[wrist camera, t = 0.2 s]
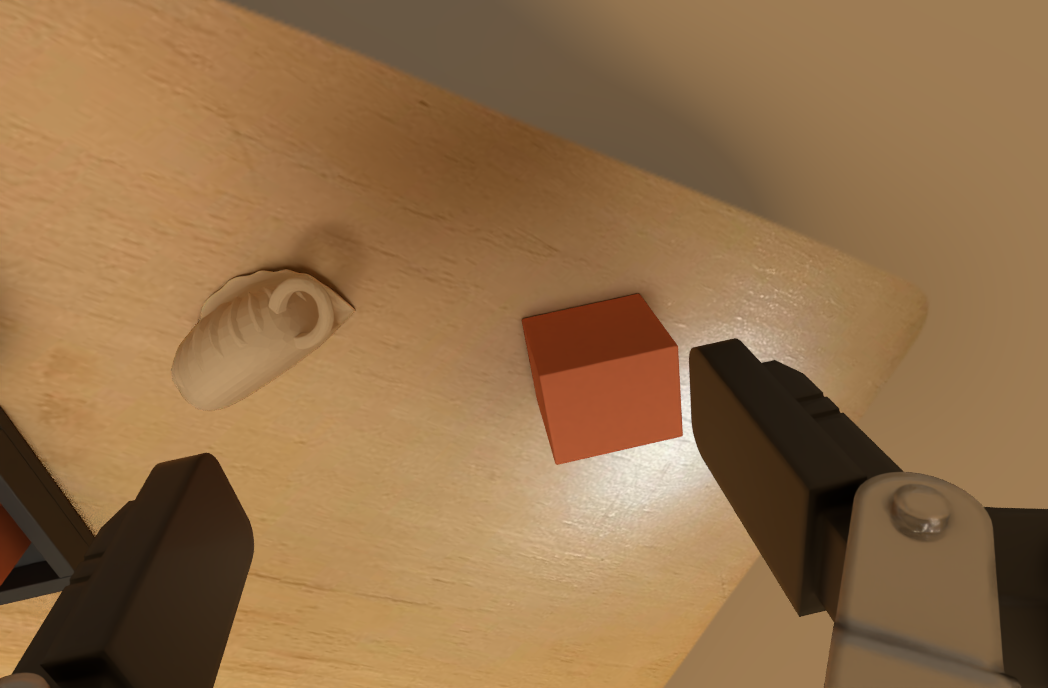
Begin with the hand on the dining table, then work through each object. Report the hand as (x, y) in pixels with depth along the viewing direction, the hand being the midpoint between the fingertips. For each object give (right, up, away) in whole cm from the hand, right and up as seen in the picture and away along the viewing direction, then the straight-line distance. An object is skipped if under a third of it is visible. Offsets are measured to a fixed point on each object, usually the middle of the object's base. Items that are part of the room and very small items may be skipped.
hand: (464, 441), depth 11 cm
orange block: (+4, +2, +19) cm, 19 cm away
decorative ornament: (-9, +3, +16) cm, 19 cm away
